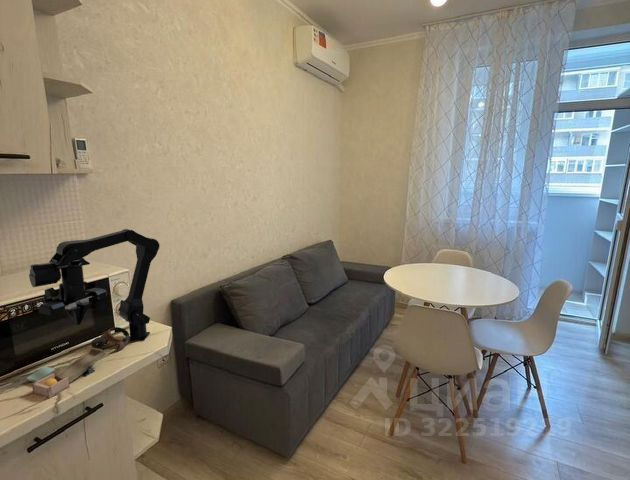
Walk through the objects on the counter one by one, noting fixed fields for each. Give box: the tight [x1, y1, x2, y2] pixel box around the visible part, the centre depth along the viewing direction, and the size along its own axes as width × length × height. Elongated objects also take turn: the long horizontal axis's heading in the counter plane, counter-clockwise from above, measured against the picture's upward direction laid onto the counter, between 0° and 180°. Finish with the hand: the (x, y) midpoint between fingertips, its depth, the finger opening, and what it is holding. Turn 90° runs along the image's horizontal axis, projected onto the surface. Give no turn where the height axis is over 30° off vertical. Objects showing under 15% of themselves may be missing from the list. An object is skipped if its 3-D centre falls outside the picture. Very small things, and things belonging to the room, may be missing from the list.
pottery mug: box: [90, 326, 130, 351], centre depth 116 cm, size 12×10×8 cm
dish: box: [31, 374, 71, 399], centre depth 92 cm, size 6×6×3 cm
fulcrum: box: [80, 367, 96, 377], centre depth 102 cm, size 3×5×2 cm, turn 72°
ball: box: [44, 378, 58, 386], centre depth 92 cm, size 3×3×3 cm
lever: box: [26, 347, 106, 384], centre depth 100 cm, size 15×14×2 cm
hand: (77, 324), depth 108 cm, fingers closed
